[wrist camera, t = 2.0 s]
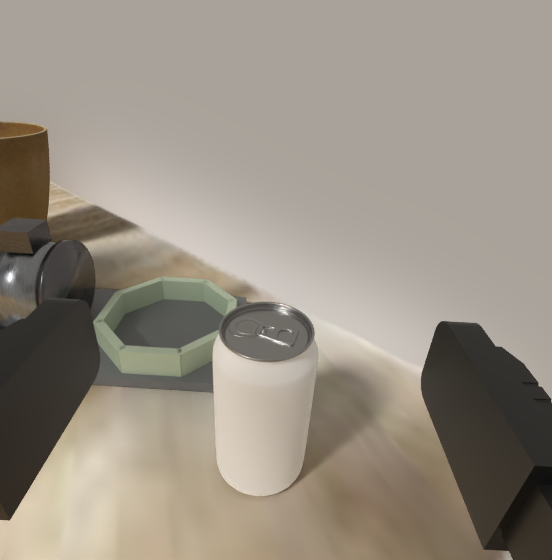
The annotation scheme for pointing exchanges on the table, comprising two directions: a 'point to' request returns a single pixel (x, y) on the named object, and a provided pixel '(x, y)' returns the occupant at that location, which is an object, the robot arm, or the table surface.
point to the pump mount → (160, 333)
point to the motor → (40, 269)
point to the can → (263, 395)
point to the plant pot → (23, 171)
